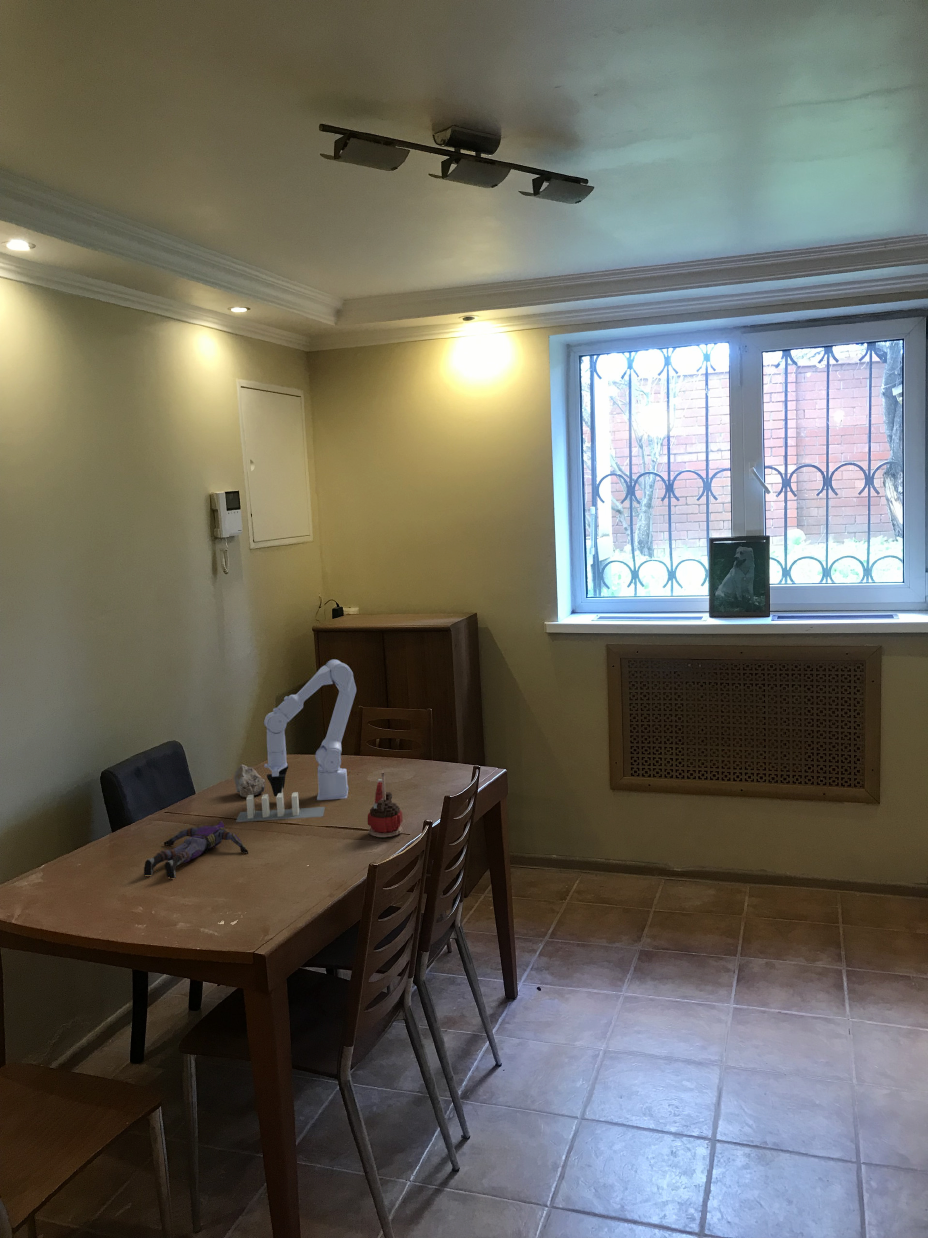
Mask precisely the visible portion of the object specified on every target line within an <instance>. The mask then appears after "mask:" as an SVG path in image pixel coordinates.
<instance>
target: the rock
mask: <svg viewBox="0 0 928 1238" xmlns="http://www.w3.org/2000/svg"><path fill="white" fill-rule="evenodd" d="M265 782H266V781H265V779H264V778H262V776H261V775H260V774H258V772H257V770H255V769H254V768H253V767H252V766H246V765H245V764H240V765H239V767H237V770H236V771H235V774H234V783H235V788H236V789H235V790H236V792H237V793H239V796H241V797H242V798H246V799H247V797H248V795H254V797H255V796H257V795H263V793H264V791H265V788H266V783H265Z"/></svg>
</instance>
